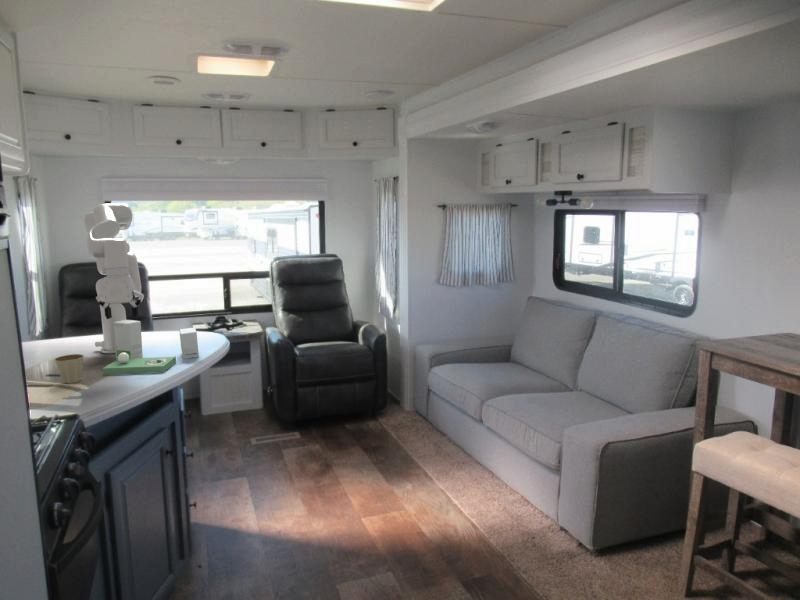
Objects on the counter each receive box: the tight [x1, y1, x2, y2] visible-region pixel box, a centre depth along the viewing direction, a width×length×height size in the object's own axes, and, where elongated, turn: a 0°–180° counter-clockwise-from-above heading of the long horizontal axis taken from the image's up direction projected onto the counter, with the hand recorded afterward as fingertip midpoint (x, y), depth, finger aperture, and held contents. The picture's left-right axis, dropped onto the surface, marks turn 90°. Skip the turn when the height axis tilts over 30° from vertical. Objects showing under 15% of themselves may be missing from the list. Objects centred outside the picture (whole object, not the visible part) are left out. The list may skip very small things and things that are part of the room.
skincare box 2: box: [179, 327, 200, 359], centre depth 251 cm, size 10×6×10 cm, turn 22°
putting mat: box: [102, 356, 177, 376], centre depth 232 cm, size 22×14×2 cm, turn 93°
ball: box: [118, 353, 129, 363], centre depth 232 cm, size 4×4×4 cm
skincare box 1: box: [114, 319, 144, 361], centre depth 247 cm, size 8×7×16 cm
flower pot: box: [53, 353, 85, 384], centre depth 217 cm, size 9×9×9 cm
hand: (122, 317), depth 230 cm, fingers open, 9 cm apart
